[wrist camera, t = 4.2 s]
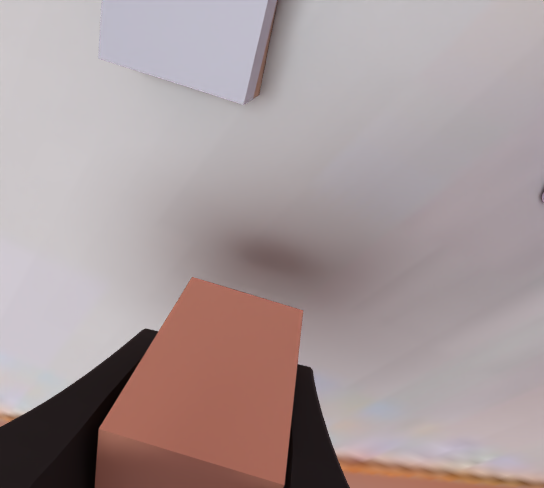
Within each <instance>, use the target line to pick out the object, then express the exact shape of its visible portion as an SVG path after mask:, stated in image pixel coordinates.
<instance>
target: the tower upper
mask: <svg viewBox="0 0 544 488" xmlns="http://www.w3.org/2000/svg"><path fill="white" fill-rule="evenodd" d="M276 3H277V0H102V5H101V22H100V39H99V56H98V59H101V60H104V61H107V62H111V63H114V64H117V65H120V66H123V67H126V68H129V69H133V70H136V71H139V72H142V73H145V74H148V75H151V76H155V77H158V78H161V79H164V80H167V81H170V82H173V83H176V84H180V85H183V86H186V87H189V88H192V89H195V90H198V91H202V92H205V93H208V94H211V95H214V96H217V97H220V98H223V99H227V100H230V101H233V102H236V103H239V104H242V105H244V104H246V103H247V102H249V101H251V100H252V99H253V97H254V93H255V89H256V85H257V81H258V76H259V72H260V68H261V64H262V60H263V56H264V52H265V48H266V44H267V40H268V35H269V31H270V27H271V23H272V19H273V15H274V11H275V7H276Z"/></svg>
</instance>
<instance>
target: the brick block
mask: <svg viewBox="0 0 544 488" xmlns="http://www.w3.org/2000/svg"><path fill="white" fill-rule="evenodd" d="M302 317H303V310H300V309H297V308H293V307H290V306H287V305H283V304H280V303H277V302H273V301H270V300H267V299H263V298H260V297H257V296H254V295H250V294H247V293H244V292H240V291H237V290H234V289H230V288H227V287H224V286H221V285H217V284H214V283H211V282H207V281H204V280H201V279H197V278H194V277H192V278H191V280H190V281H189V283H188V284H187V286H186V288H185V289H184V291H183V293H182V294H181V296H180V297H179V299H178V301H177V302H176V304H175V306H174V307H173V309H172V310H171V312H170V314H169V315H168V317H167V319H166V320H165V322H164V324H163V325H162V327H161V328H160V330H159V332H158V333H157V335H156V337H155V338H154V340H153V341H152V343H151V345H150V346H149V348H148V350H147V351H146V353H145V354H144V356H143V358H142V359H141V361H140V363H139V364H138V366H137V367H136V369H135V371H134V372H133V374H132V376H131V377H130V379H129V380H128V382H127V384H126V385H125V387H124V389H123V390H122V392H121V393H120V395H119V397H118V398H117V400H116V402H115V403H114V405H113V406H112V408H111V410H110V411H109V413H108V415H107V416H106V418H105V419H104V421H103V423H102V424H101V426H100V428H99V432H98V447H97V461H96V475H95V488H283V487H284V485H285V475H286V466H287V457H288V447H289V438H290V429H291V419H292V410H293V401H294V391H295V382H296V373H297V364H298V354H299V345H300V336H301V326H302Z"/></svg>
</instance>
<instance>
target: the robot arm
mask: <svg viewBox="0 0 544 488" xmlns="http://www.w3.org/2000/svg"><path fill="white" fill-rule="evenodd" d="M542 201H543V202H544V193H543V195H542ZM157 333H158V331H154V330H150V329H146V328H145V329H144V330H142V331H141V332H139V333H138V334H137V335H136V336H135V337H133V338H132V339H131V340H130V341H129V342H127V343H126V344H125V345H124V346H123V347H121V348H120V349H119V350H118V351H116V352H115V353H114V354H113V355H111V356H110V357H109V358H107V359H106V360H105V361H103V362H102V363H101V364H100V365H98V366H97V367H96V368H94V369H93V370H92V371H90V372H89V373H87V374H86V375H85V376H83V377H82V378H80V379H79V380H77V381H76V382H75V383H73V384H72V385H70V386H69V387H67V388H66V389H64V390H63V391H61V392H60V393H58V394H57V395H55V396H54V397H52V398H50V399H49V400H47V401H46V402H44V403H42V404H41V405H39V406H37V407H36V408H34V409H32V410H31V411H29V412H27V413H25V414H23V415H22V416H20V417H18V418H16V419H14V420H12V421H11V422H9V423H7V424H5V425H3V426H1V427H0V488H95V475H96V461H97V447H98V432H99V428H100V426H101V424H102V423H103V421H104V419H105V418H106V416H107V415H108V413H109V411H110V410H111V408H112V406H113V405H114V403H115V402H116V400H117V398H118V397H119V395H120V393H121V392H122V390H123V389H124V387H125V385H126V384H127V382H128V380H129V379H130V377H131V376H132V374H133V372H134V371H135V369H136V367H137V366H138V364H139V363H140V361H141V359H142V358H143V356H144V354H145V353H146V351H147V350H148V348H149V346H150V345H151V343H152V341H153V340H154V338H155V337H156V335H157ZM283 488H350V487H349V485H348V483H347V481H346V479H345V476H344V474H343V471H342V469H341V466H340V464H339V462H338V459H337V456H336V454H335V451H334V448H333V446H332V443H331V440H330V437H329V434H328V431H327V428H326V424H325V421H324V418H323V415H322V411H321V408H320V404H319V400H318V396H317V392H316V387H315V382H314V376H313V370H312V369H311V367H307V366H303V365H298V364H297V373H296V382H295V391H294V401H293V410H292V419H291V429H290V438H289V447H288V457H287V466H286V475H285V485H284V487H283Z"/></svg>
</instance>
